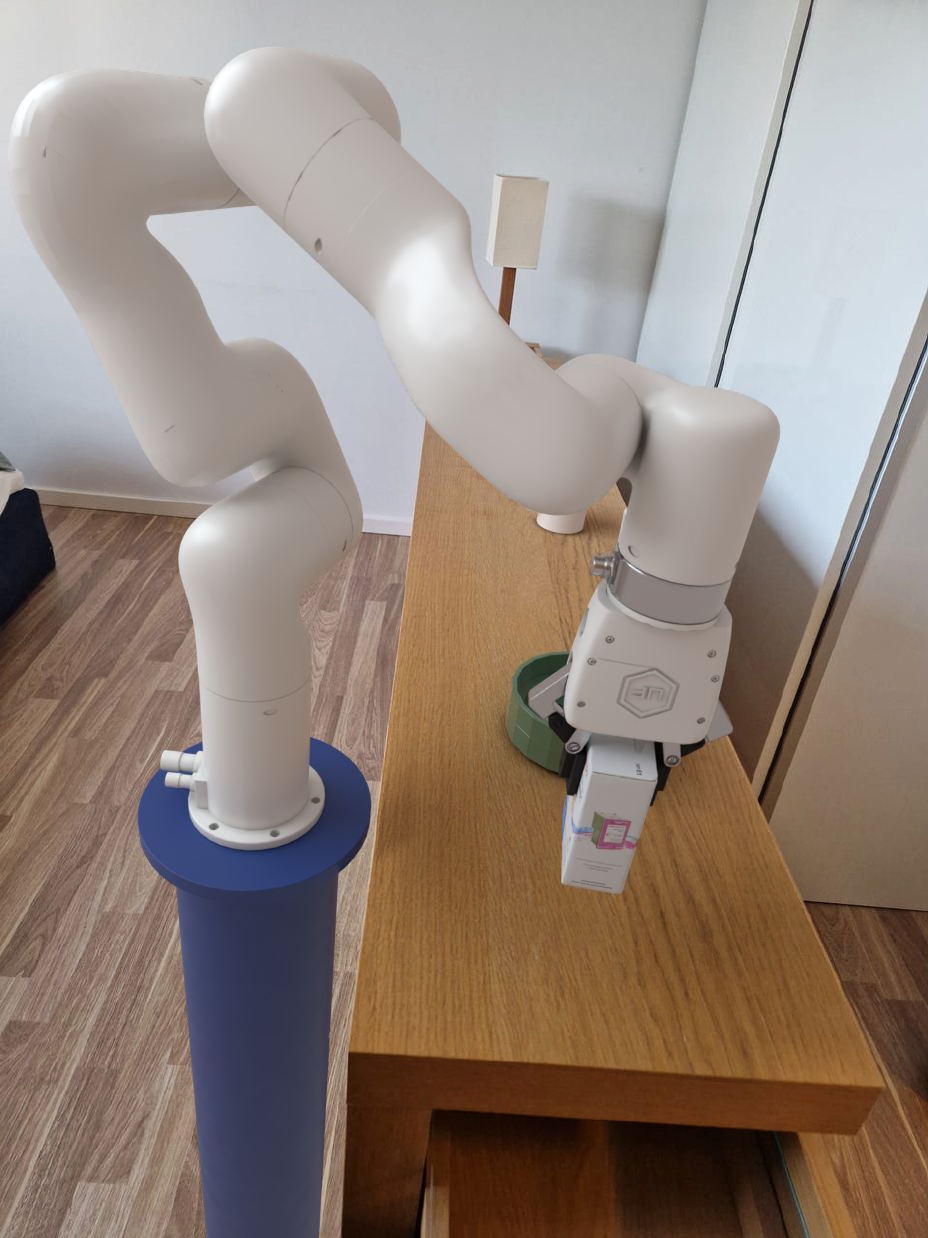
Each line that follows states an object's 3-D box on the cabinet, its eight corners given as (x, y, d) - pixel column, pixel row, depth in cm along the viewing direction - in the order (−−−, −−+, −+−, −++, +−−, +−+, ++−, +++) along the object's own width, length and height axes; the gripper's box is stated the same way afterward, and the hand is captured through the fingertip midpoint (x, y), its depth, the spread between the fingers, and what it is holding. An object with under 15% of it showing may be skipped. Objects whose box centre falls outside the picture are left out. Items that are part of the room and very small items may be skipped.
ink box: (559, 807, 73) (589, 695, 67) (617, 817, 73) (653, 707, 67) (557, 885, 66) (591, 768, 60) (622, 897, 66) (663, 781, 60)
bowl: (504, 773, 93) (512, 729, 90) (505, 684, 107) (511, 644, 104) (654, 790, 93) (667, 747, 90) (635, 700, 107) (646, 660, 104)
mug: (519, 532, 144) (529, 473, 139) (509, 511, 151) (518, 454, 146) (588, 534, 147) (600, 476, 141) (575, 513, 153) (586, 457, 148)
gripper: (540, 592, 53) (495, 808, 63) (813, 631, 54) (727, 839, 63) (537, 538, 60) (497, 741, 69) (781, 572, 60) (708, 770, 70)
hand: (608, 786), depth 66 cm, fingers closed on ink box, 5 cm apart
